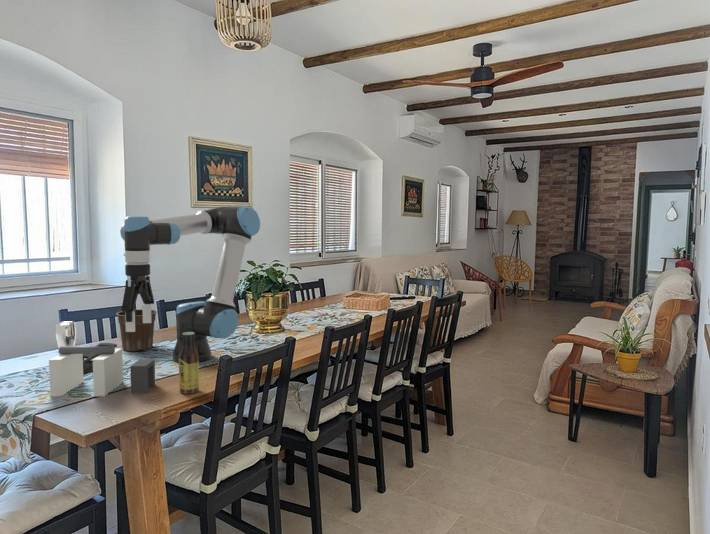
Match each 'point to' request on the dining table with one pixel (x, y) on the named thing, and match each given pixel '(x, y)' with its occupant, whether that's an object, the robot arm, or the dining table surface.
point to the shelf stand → (70, 369)
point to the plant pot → (137, 332)
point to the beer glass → (66, 333)
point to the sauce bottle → (188, 365)
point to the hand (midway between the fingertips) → (139, 327)
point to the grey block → (142, 375)
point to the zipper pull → (89, 362)
